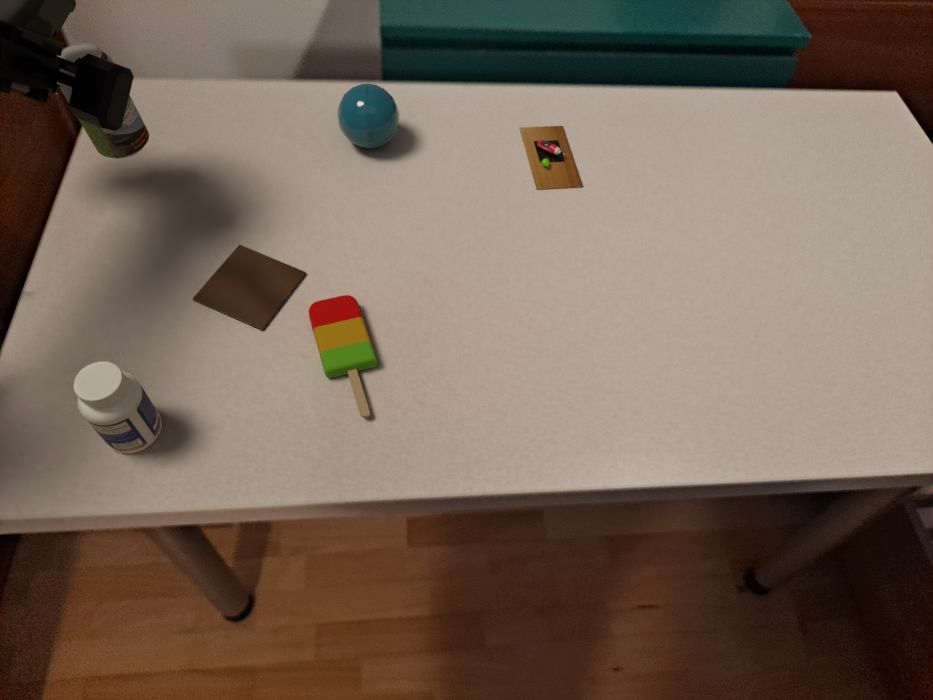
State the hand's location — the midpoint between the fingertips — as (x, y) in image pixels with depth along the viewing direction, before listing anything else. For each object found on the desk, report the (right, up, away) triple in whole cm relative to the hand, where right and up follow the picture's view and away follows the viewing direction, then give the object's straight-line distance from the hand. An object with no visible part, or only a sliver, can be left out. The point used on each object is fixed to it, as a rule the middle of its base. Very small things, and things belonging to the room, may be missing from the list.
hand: (104, 88), depth 76 cm
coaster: (+16, -22, +2) cm, 27 cm away
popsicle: (+27, -30, -2) cm, 41 cm away
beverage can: (-1, -5, +5) cm, 7 cm away
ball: (+27, -1, +17) cm, 32 cm away
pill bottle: (+7, -37, -8) cm, 39 cm away
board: (+52, -3, +18) cm, 55 cm away
